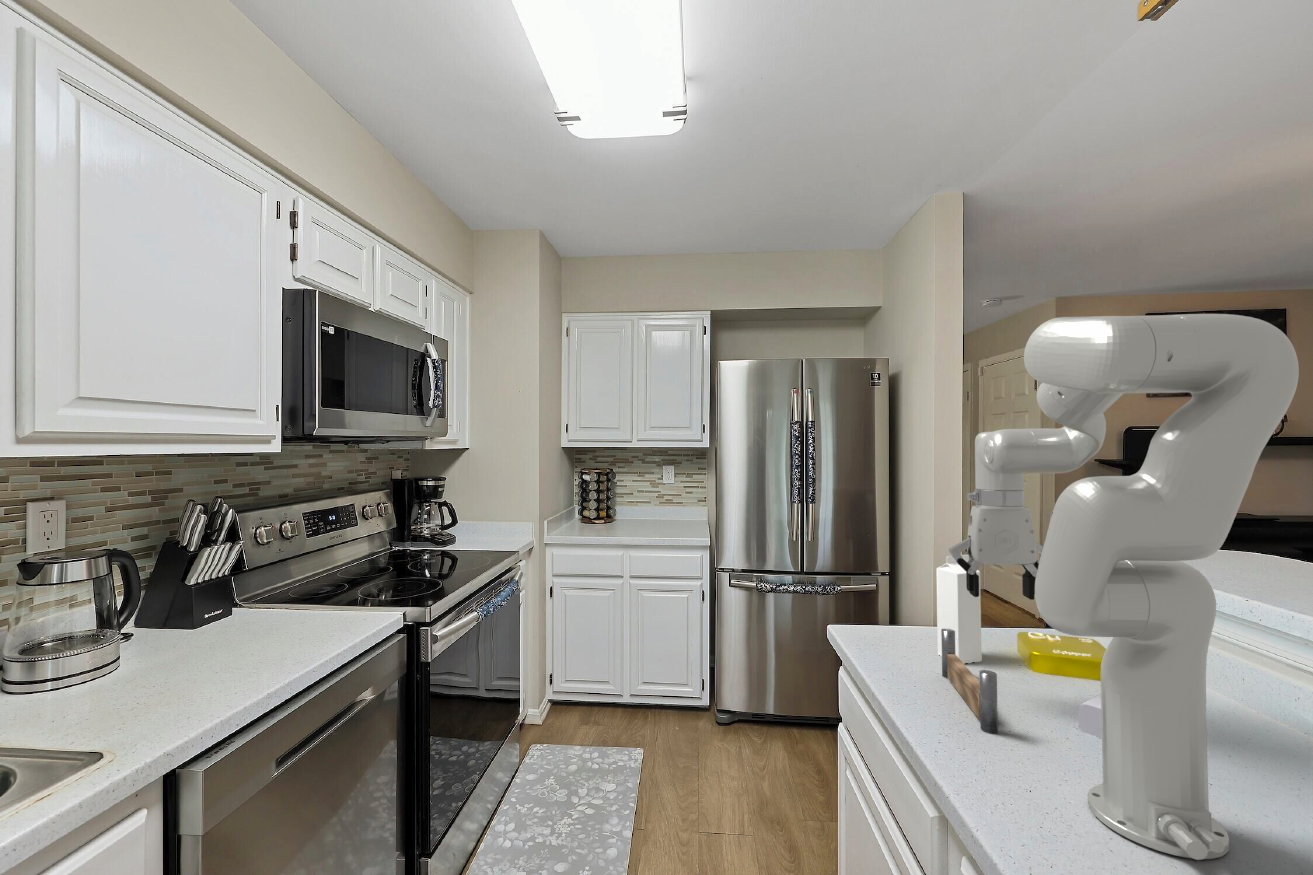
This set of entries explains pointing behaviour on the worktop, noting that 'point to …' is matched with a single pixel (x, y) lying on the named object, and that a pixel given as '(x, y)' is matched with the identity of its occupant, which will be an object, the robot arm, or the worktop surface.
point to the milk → (958, 611)
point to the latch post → (947, 648)
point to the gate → (964, 683)
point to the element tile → (1061, 655)
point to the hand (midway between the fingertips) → (1001, 596)
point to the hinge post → (988, 701)
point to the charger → (1091, 716)
